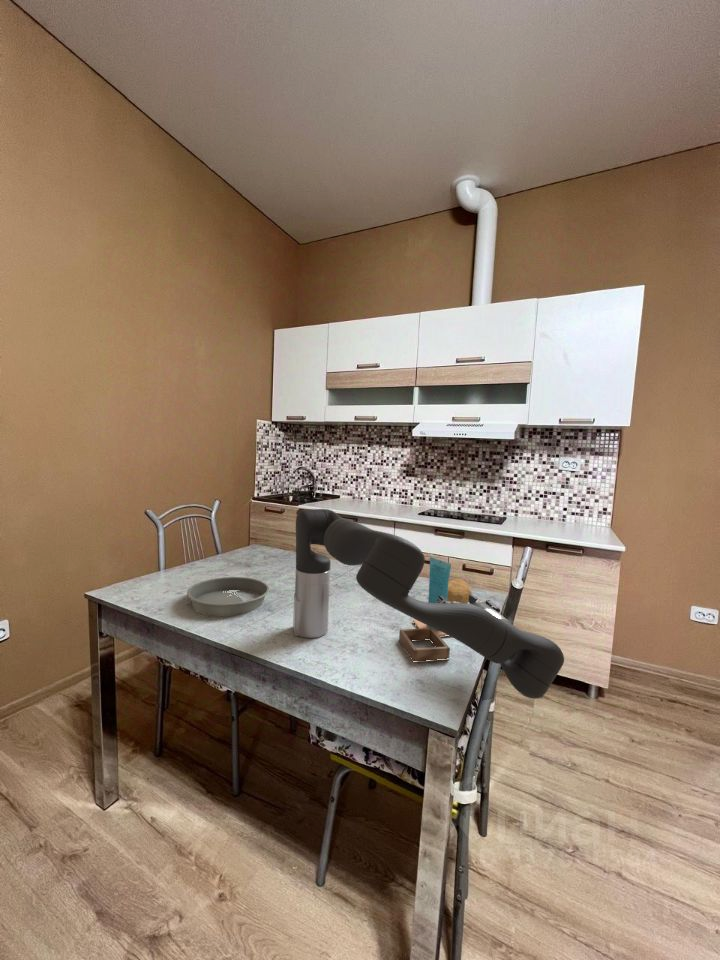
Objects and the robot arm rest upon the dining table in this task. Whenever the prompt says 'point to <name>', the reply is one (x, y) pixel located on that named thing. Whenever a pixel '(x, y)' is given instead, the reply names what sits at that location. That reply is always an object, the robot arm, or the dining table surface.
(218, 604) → the cake pan
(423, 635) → the wooden tray
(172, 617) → the dining table surface
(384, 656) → the dining table surface
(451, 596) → the potato
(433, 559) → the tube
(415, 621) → the coaster
